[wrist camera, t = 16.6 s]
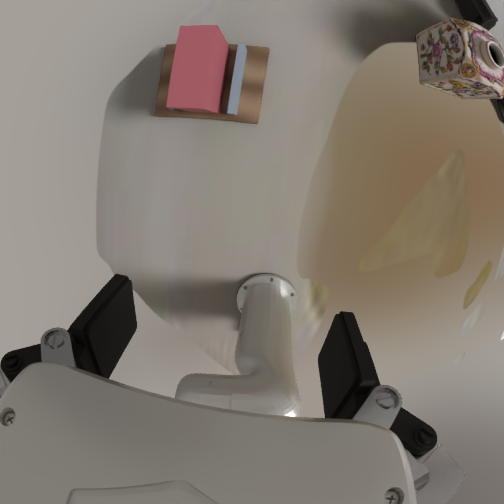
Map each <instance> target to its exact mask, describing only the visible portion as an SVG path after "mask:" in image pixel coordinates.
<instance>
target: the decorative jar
mask: <svg viewBox="0 0 504 504" xmlns="http://www.w3.org/2000/svg"><path fill="white" fill-rule="evenodd" d="M416 41H417V52H418V61H419V62H418V63H419V75H420V84H422V85H425V86H428V87H431V88H434V89H437V90H440V91H443V92H446V93H448V94H451V95H454V96H457V97H459V98H461V99H502V98H503V96H504V52H503V50H502V48H501V46H500V44H499V43H498V41H497V40H496V38H495V37H494V35H493V34H492V33H491V32H489V31H488V30H486V29H485V28H483V27H482V26H480V25H478V24H476V23H474V22H470V21H465V20H462V19H456V18H453V17H451V18H448V19H446V20H443V21H441V22H439V23H437V24H435V25H433V26H431V27H429V28H427V29H425V30H423V31H421V32H419V33H418V34H416Z"/></svg>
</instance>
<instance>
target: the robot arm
mask: <svg viewBox="0 0 504 504" xmlns="http://www.w3.org/2000/svg"><path fill="white" fill-rule="evenodd" d="M133 299H134V298H133V290H132V282H131V280H129V278H128V276H124V275H120V274H115V275H114V277H112V278H111V280H110V281H109V282H108V283H107V284H106V285H105V286H104V287H103V288H102V289H101V291H100V292H99V293H98V294H97V295H96V296H95V297H94V299H93V300H92V301H91V302H90V303H89V304H88V306H87V307H86V308H85V309H84V310H83V311H82V313H81V314H80V315H79V316H78V317H77V318H76V320H75V321H74V322H73V323H72V325H71V326H70V328H69V329H68V330H65V329H63V328H52V329H50V330H48V331H46V332H45V333H44V334H43V336H42V338H41V344H37V345H33V346H30V347H26V348H22V349H18V350H14V351H11V352H8V353H7V354H5V355H4V357H3V358H2V360H1V365H0V504H446V502H447V501H448V500H449V499H450V498H451V497H452V496H453V494H454V493H455V492H456V491H457V489H458V488H459V487H460V486H461V484H462V483H463V481H464V477H465V474H464V470H463V469H462V467H461V466H460V465H459V464H458V463H457V461H456V460H455V459H454V458H453V457H452V456H451V455H450V454H449V453H448V451H447V450H446V449H445V448H444V447H443V446H442V445H440V446H438V445H437V435H436V432H435V430H434V429H433V428H432V427H431V426H429V425H427V424H426V423H425V422H423V421H421V420H420V419H418V418H417V417H415V416H414V415H412V414H411V413H409V412H408V411H406V410H405V409H403V408H402V407H401V405H402V397H401V395H400V393H399V392H398V391H397V390H396V389H394V388H393V387H391V386H388V385H380V382H379V379H378V376H377V373H376V370H375V367H374V363H373V360H372V358H371V354H370V352H369V349H368V346H367V344H366V342H364V341H363V338H362V335H361V333H360V330H359V327H358V324H357V321H356V319H355V316H354V314H353V313H352V312H343V311H341V312H340V313H339V314H336V315H335V317H334V320H333V322H332V325H331V327H330V330H329V332H328V335H327V337H326V339H325V342H324V344H323V347H322V349H321V351H320V353H319V356H318V366H319V373H320V381H321V388H322V396H323V405H324V413H325V418H307V417H303V406H302V400H301V396H300V392H299V388H298V385H297V380H296V376H295V368H294V356H293V341H292V325H291V315H292V314H293V312H294V311H295V308H296V306H297V295H296V291H295V289H294V287H293V286H292V284H291V283H290V282H289V281H287V280H286V279H284V278H283V277H280V276H278V275H274V274H259V275H256V276H253V277H251V278H249V279H247V280H246V281H245V282H244V283H243V284H242V285H241V286H240V288H239V290H238V293H237V299H236V300H237V306H238V309H239V310H240V312H241V313H242V314H241V320H240V326H239V332H238V338H237V344H236V350H235V363H236V366H237V369H238V370H239V372H240V374H241V375H218V374H202V373H200V374H199V373H194V374H189V375H186V376H185V377H183V378H182V379H181V380H180V382H179V384H178V386H177V389H176V394H175V398H171V397H167V396H163V395H159V394H155V393H152V392H148V391H145V390H141V389H138V388H134V387H131V386H128V385H125V384H122V383H119V382H116V381H113V380H110V379H109V377H110V375H111V374H112V372H113V370H114V368H115V366H116V364H117V363H118V361H119V359H120V357H121V356H122V354H123V352H124V350H125V348H126V347H127V345H128V343H129V341H130V340H131V338H132V336H133V335H134V333H135V331H136V329H137V321H136V314H135V306H134V300H133Z"/></svg>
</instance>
